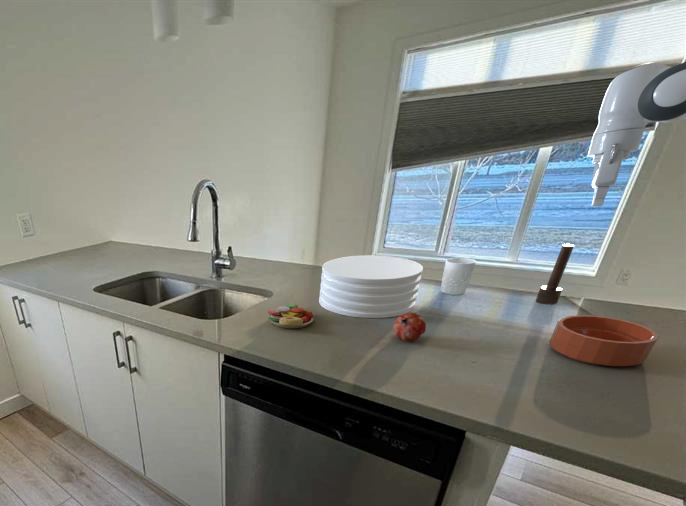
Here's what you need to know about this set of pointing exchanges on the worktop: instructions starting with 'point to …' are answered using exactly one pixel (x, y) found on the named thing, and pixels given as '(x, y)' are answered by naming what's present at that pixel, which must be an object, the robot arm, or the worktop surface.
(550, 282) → the muddler
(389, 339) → the worktop surface
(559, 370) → the worktop surface
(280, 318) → the toy food set
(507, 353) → the worktop surface
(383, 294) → the plate stack
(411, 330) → the pomegranate
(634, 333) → the bowl
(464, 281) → the white cup
